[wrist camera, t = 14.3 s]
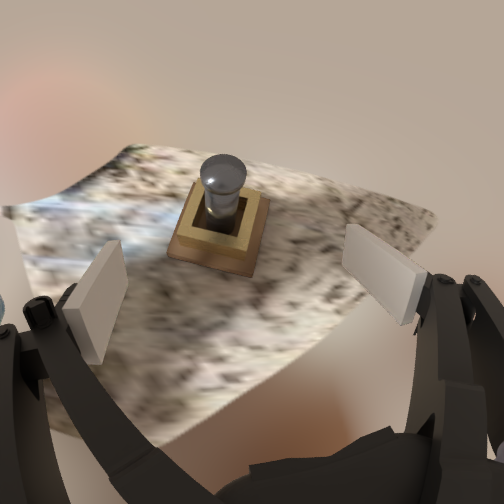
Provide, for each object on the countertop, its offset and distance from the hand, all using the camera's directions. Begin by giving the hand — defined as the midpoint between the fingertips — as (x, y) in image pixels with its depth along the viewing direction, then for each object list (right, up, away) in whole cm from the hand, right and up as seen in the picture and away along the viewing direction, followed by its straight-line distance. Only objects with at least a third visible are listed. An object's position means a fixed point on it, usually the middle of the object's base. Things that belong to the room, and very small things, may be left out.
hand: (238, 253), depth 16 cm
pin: (-4, +4, +24) cm, 24 cm away
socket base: (-4, +3, +25) cm, 26 cm away
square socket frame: (-4, +4, +24) cm, 24 cm away
